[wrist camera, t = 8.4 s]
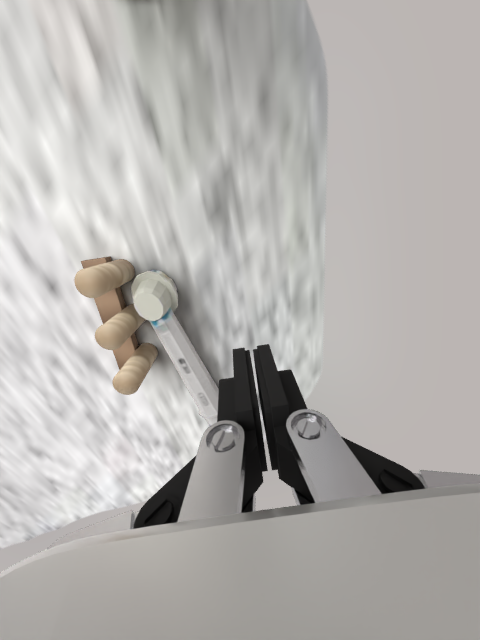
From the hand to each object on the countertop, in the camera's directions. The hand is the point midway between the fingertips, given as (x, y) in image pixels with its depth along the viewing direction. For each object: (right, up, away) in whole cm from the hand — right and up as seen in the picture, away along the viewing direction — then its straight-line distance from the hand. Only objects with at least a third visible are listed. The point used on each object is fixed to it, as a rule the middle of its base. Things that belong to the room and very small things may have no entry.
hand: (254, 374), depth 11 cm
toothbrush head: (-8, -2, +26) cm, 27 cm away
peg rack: (-16, +3, +23) cm, 28 cm away
